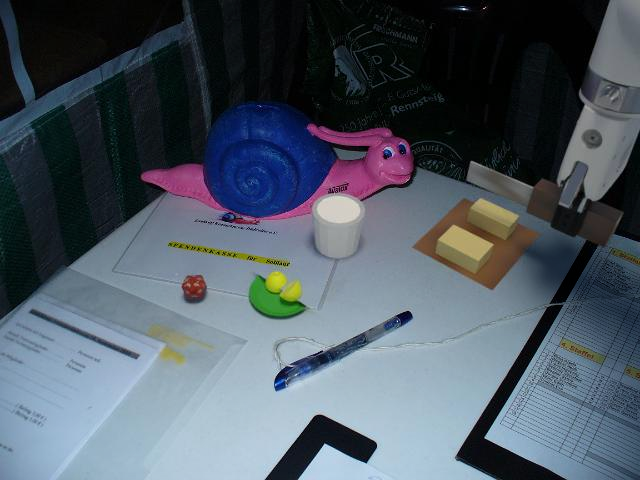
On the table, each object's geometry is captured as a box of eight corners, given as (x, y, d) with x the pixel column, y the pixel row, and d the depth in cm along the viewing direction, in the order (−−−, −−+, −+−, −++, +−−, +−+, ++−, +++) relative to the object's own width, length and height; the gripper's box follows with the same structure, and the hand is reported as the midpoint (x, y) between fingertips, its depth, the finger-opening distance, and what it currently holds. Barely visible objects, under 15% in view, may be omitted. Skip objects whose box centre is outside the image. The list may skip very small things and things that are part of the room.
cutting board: (538, 238, 83) (540, 233, 82) (490, 295, 75) (492, 290, 74) (462, 202, 88) (464, 197, 88) (410, 252, 80) (411, 247, 80)
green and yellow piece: (324, 284, 76) (325, 269, 74) (294, 328, 70) (293, 313, 69) (270, 263, 78) (269, 248, 76) (236, 304, 73) (235, 288, 71)
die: (188, 284, 75) (185, 267, 73) (211, 288, 75) (209, 272, 73) (179, 301, 73) (176, 284, 71) (203, 305, 73) (200, 289, 71)
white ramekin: (349, 227, 84) (352, 187, 79) (370, 259, 79) (374, 219, 75) (304, 238, 82) (304, 198, 77) (322, 272, 77) (323, 231, 73)
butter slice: (515, 229, 83) (519, 215, 81) (505, 240, 81) (509, 226, 79) (476, 211, 85) (480, 197, 84) (466, 221, 84) (469, 207, 82)
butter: (489, 258, 78) (494, 244, 77) (474, 274, 76) (478, 260, 74) (450, 237, 81) (453, 224, 80) (434, 253, 79) (437, 239, 77)
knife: (611, 237, 71) (623, 211, 69) (604, 248, 70) (616, 222, 67) (471, 176, 80) (476, 150, 78) (462, 184, 79) (467, 158, 76)
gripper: (632, 132, 54) (572, 274, 67) (683, 71, 64) (622, 206, 76) (553, 104, 58) (510, 245, 70) (613, 51, 67) (565, 183, 79)
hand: (568, 223), depth 73 cm, fingers closed on knife, 2 cm apart
